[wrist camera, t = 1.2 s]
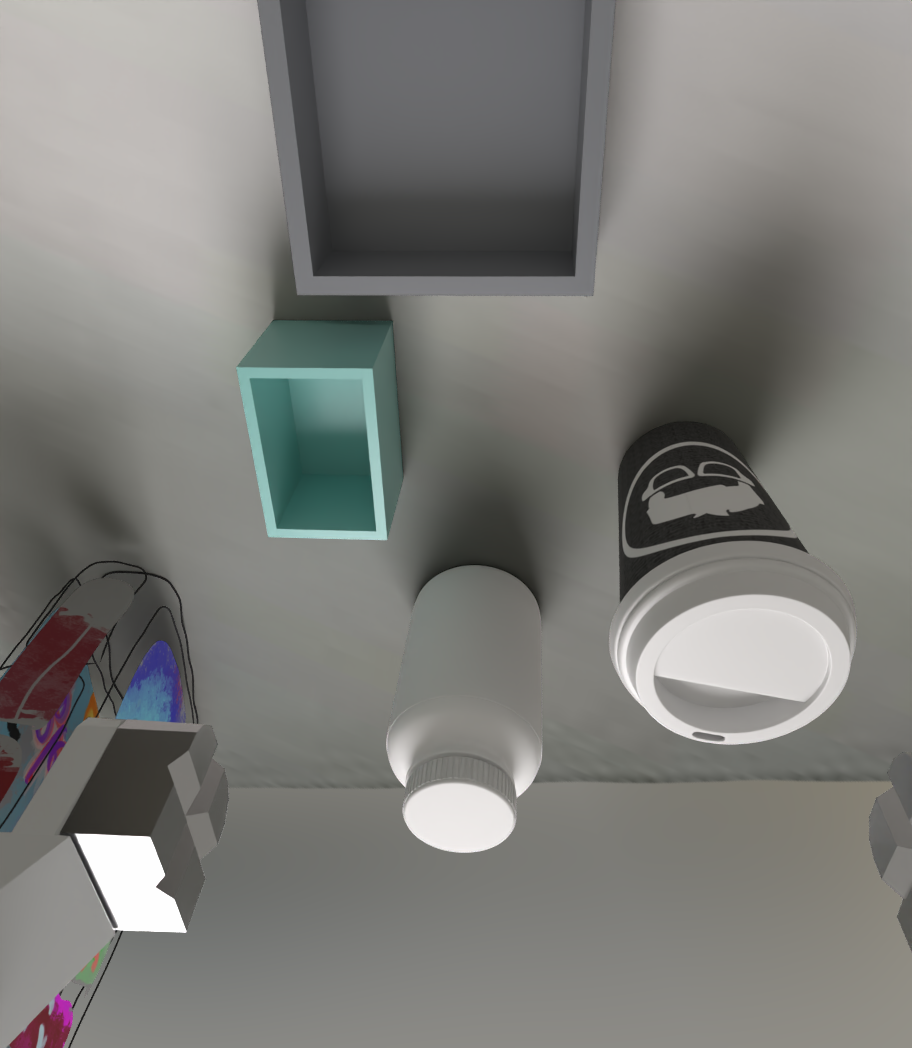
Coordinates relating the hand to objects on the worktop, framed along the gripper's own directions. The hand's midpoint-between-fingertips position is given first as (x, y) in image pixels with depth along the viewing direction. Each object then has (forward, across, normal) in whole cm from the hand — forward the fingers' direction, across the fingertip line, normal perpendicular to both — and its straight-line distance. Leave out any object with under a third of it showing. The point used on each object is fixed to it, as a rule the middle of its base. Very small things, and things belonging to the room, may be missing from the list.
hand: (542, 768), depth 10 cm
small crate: (+31, +9, +10) cm, 34 cm away
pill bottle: (+31, +2, +24) cm, 39 cm away
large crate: (+31, +4, -4) cm, 32 cm away
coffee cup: (+31, -9, +14) cm, 35 cm away
